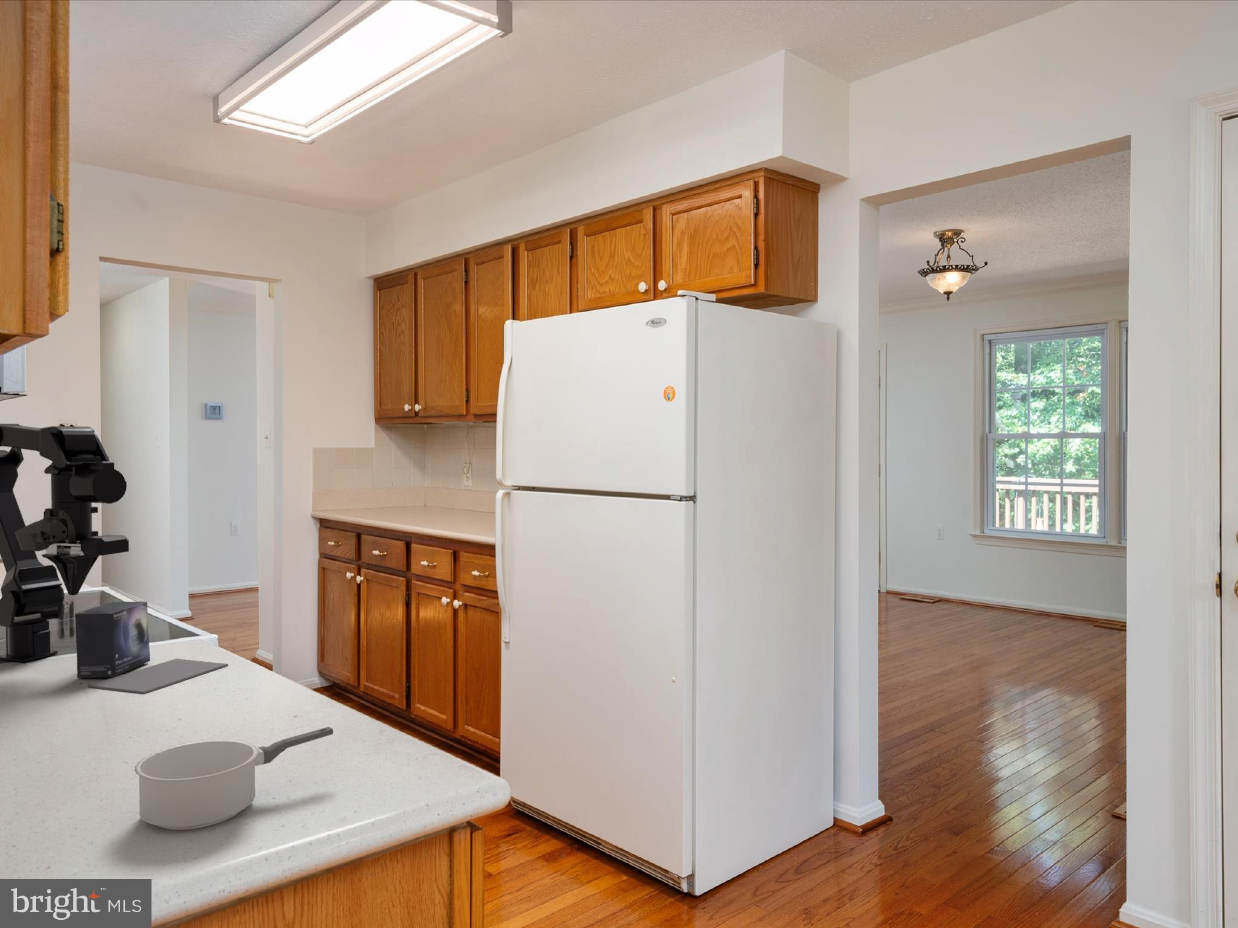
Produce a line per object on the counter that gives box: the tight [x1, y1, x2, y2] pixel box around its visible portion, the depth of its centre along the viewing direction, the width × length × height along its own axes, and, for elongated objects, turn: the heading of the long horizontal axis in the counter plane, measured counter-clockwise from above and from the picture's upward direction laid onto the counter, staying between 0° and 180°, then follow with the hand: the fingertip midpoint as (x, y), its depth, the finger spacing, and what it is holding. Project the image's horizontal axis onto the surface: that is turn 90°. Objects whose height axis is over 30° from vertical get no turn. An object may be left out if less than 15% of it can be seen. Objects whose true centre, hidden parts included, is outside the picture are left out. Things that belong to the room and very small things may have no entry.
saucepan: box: [134, 726, 334, 831], centre depth 93 cm, size 12×20×6 cm, turn 133°
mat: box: [87, 658, 229, 695], centre depth 141 cm, size 11×17×1 cm, turn 162°
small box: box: [74, 601, 151, 679], centre depth 143 cm, size 11×6×10 cm, turn 179°
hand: (73, 594), depth 146 cm, fingers closed
